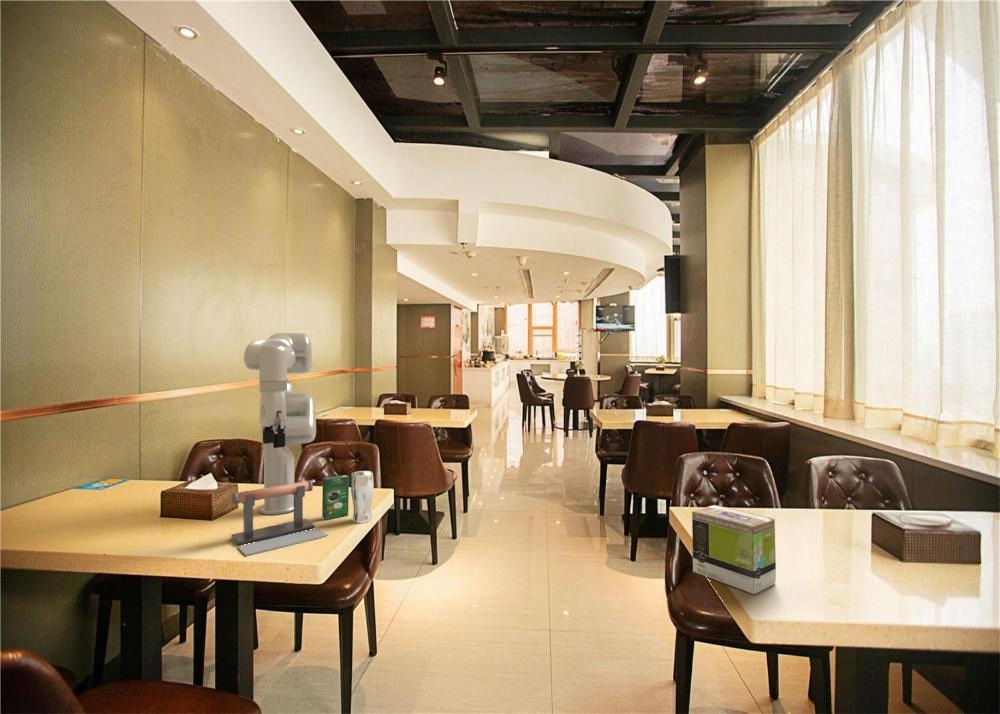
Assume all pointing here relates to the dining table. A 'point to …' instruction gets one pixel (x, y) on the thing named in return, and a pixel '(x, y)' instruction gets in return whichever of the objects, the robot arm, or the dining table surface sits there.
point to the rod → (271, 492)
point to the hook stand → (276, 530)
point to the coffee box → (335, 497)
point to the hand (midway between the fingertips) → (273, 445)
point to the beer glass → (362, 495)
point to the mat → (281, 542)
